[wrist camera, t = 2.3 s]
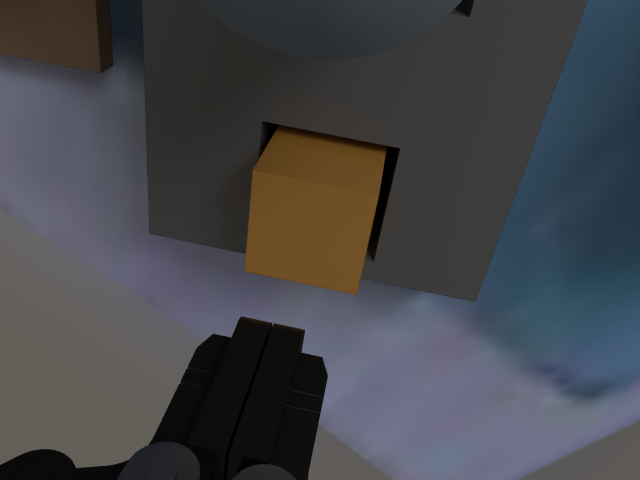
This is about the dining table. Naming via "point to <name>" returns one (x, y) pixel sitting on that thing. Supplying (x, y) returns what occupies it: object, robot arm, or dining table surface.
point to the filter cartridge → (330, 24)
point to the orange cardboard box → (313, 208)
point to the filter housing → (358, 128)
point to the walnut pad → (58, 32)
